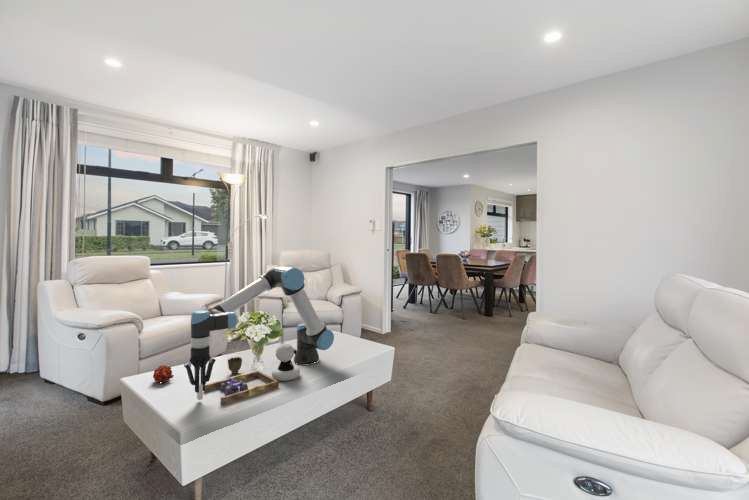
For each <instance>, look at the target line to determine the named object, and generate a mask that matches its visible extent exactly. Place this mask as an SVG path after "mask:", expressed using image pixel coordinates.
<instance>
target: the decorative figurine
mask: <svg viewBox="0 0 749 500" xmlns="http://www.w3.org/2000/svg"><path fill="white" fill-rule="evenodd" d="M296 350H297V348H294V347H293V346H292V344H290V343H286V342H284V340H283V338H281V339H280V345H278V346H277V348H276V351H275V357H276V358H277V360H279V361H280V362H279V365H278V366H276V367H274V368H273V369H272V371H271V376H272V377H271V378H273V379H275V380H277V381H279V382H287V381H292V380H295V379H297V378H298V377H299V376H300V374H301V369H300V368H299V367H298V366H297V365H295V364H294V365H293V362H292V359H293V358H294V356H295V355H296Z"/></svg>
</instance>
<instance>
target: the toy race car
mask: <svg viewBox="0 0 749 500" xmlns="http://www.w3.org/2000/svg"><path fill="white" fill-rule="evenodd" d="M248 388H249V386H248V383H247V382H245V381H242V380H239V382H238V381H237V380H234V379H231V382H227V383H226V386H225V383H222V384H220V388H219V389H220V391H221V392H223V394H224V395H223V396H228V395H231V394H234V393H238V392H241V391H244V390H248Z"/></svg>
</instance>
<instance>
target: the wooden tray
mask: <svg viewBox="0 0 749 500" xmlns="http://www.w3.org/2000/svg"><path fill="white" fill-rule="evenodd" d="M231 379H234V380H237V381H238V382H239V380H242V381H243V382H245V381H249V380H253V379H254V380H255V379H259V380H261V381H263V382H265V383H263V384H258V385H255V386H253V387H248V390H244V391H241V392H238V393H234V394H231V395H228V396H225V395H223V396H221V397H220V406H224V405H227V404H230V403H233V402H237V401H240V400H242V399H243V400H244V399H245V398H249V397H252V396H255V395H258V394H263V393H265V392H269V391H271V389H272V390H274V388H275V389H277V387H278V388H279V385H280V384H279V383H280V381H279V380H276V379H274V378H273V377H271V376H269V375H267V374H266V373H263V372H262V371H260V370H256V371H252V372H248V373H242V374H241V373H240V374H238V375H233V376H230V377H229V378H226V379H222V380H218V381H214V382H211V383H206V384H205V390H204V391H203V393H207V392H211V391H213V390H218V389H220V384H222V383H225V386H226V383H227V382H231Z"/></svg>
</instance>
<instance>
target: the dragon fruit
mask: <svg viewBox="0 0 749 500" xmlns="http://www.w3.org/2000/svg"><path fill="white" fill-rule="evenodd" d="M174 376H175V375H174V374H173V370H172V367H171V366H168V365H159V366H158V367H157V368H156V369H155V370H154V371H153V375H152V378H153V379H154V381H155V382H157V383H158V384H159V383H160V382H163V383H165V382H168V381H169V380H170V379H173V377H174ZM167 380H168V381H167ZM163 383H161V384H160V385H162V384H163Z"/></svg>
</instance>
